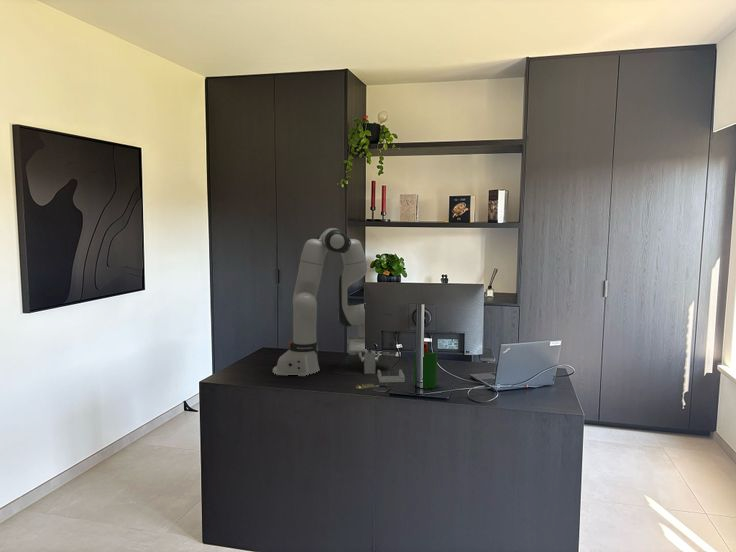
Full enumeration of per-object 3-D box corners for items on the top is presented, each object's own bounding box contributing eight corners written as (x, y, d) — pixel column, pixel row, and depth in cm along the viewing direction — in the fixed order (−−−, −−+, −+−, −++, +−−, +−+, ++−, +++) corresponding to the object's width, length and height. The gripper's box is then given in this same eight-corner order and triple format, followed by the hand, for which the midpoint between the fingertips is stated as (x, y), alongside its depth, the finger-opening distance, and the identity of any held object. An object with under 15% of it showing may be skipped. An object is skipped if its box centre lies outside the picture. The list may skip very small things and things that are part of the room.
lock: (364, 374, 251) (364, 351, 250) (363, 370, 257) (364, 347, 256) (375, 373, 251) (375, 350, 250) (374, 370, 257) (374, 347, 256)
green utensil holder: (436, 383, 238) (437, 339, 236) (437, 389, 229) (438, 344, 227) (413, 382, 239) (414, 339, 237) (413, 388, 230) (414, 343, 228)
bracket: (379, 382, 238) (379, 377, 238) (377, 375, 250) (377, 369, 249) (404, 382, 239) (404, 376, 239) (401, 374, 250) (401, 369, 250)
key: (358, 389, 228) (358, 388, 228) (354, 387, 231) (354, 385, 231) (374, 387, 232) (374, 385, 232) (370, 385, 235) (370, 383, 235)
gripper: (347, 333, 258) (348, 358, 250) (389, 333, 260) (391, 357, 251) (347, 340, 263) (347, 365, 255) (388, 340, 265) (390, 364, 256)
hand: (369, 361), depth 253 cm, fingers closed on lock, 5 cm apart
